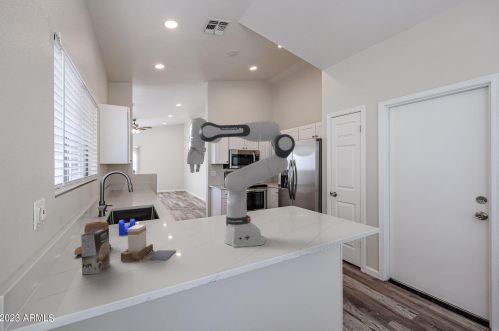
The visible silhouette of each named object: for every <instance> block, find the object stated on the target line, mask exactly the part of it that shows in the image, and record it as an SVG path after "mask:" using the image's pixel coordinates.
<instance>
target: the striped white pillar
mask: <svg viewBox="0 0 499 331" xmlns="http://www.w3.org/2000/svg"><path fill="white" fill-rule="evenodd" d="M146 247H147V224H135V226H133V227H131V228H129V229H128V235H127V249H128V252H134V253H139V252H140V251H142V250H143V249H145V248H146Z"/></svg>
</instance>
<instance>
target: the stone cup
mask: <svg viewBox="0 0 499 331" xmlns="http://www.w3.org/2000/svg"><path fill="white" fill-rule="evenodd" d="M109 224H110V223H109V222H108V221H106V220H103V221H102V220H100V221H99V220H98V221H89V222H88V221H87V222H86V223H85V226H84V234H85V233H87V232H89V231H92V230H94V229H104V228H109ZM109 229H110V228H109ZM111 246H112V244H111V243H109V249H110V248H111ZM73 253H74V255H75V256H78V255H82V245H81V246H77V247H76V248H75V249H74V251H73Z"/></svg>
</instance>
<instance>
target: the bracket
mask: <svg viewBox="0 0 499 331" xmlns="http://www.w3.org/2000/svg"><path fill="white" fill-rule="evenodd" d="M135 225H136V219H135V218H130V220H129V224H127V225H126V224H125V220H124V219H119V221H118V236H128V229H129V228H131V227H133V226H135Z"/></svg>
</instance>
